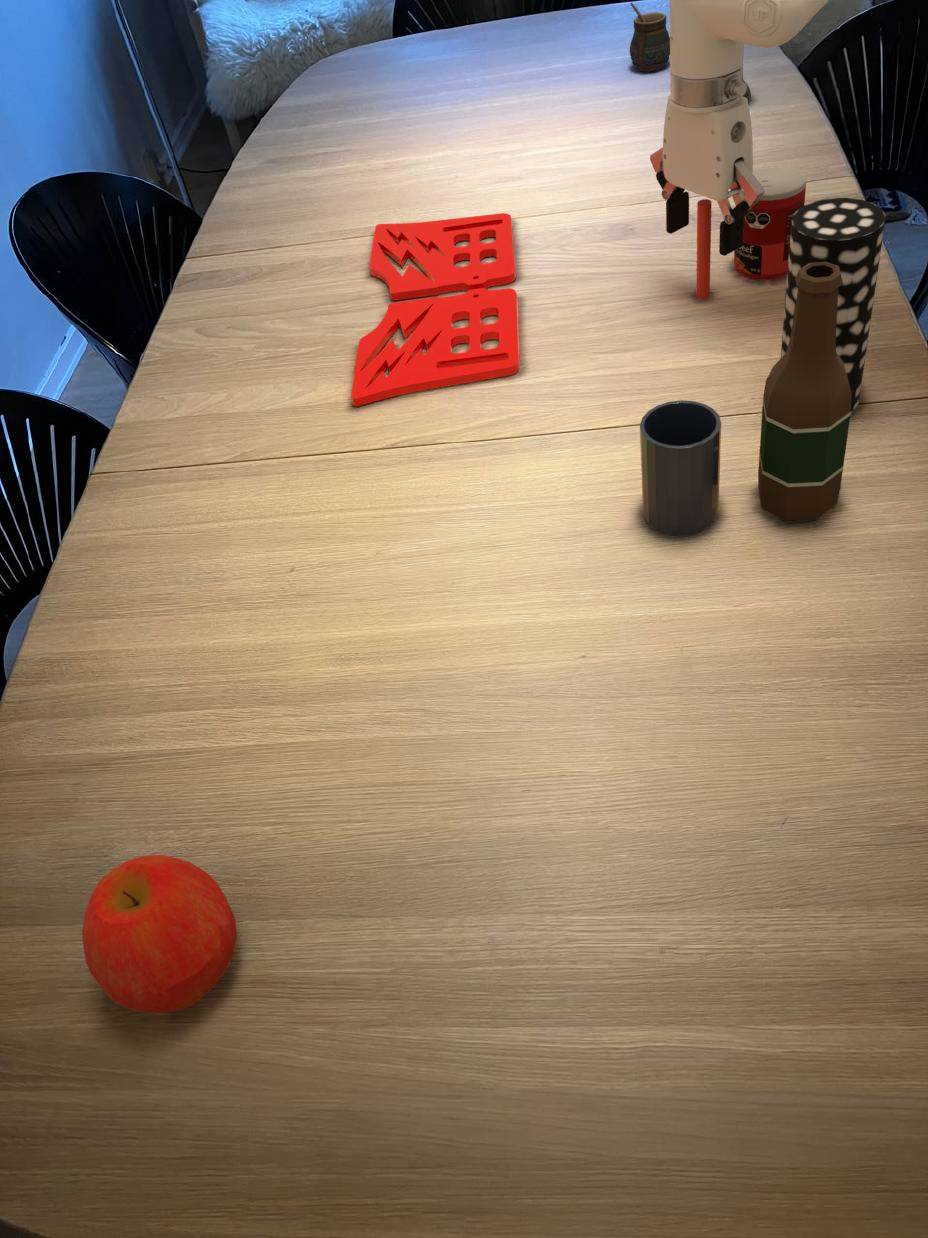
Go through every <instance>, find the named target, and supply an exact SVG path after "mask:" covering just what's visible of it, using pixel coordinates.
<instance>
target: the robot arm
mask: <svg viewBox="0 0 928 1238" xmlns="http://www.w3.org/2000/svg"><path fill="white" fill-rule="evenodd" d="M829 1H830V0H669V37H670V56H669V75H670V77H669V84H670V86H669V89H670V91H669V92H670V93H669V94H668V97H667V103H666V106H665V107H666V108H665V109H666V110H665V116H664V122H663V123H664V124H663V136H662V147H661V148H660V149H658V150H656V151H655V152H654V153H651V154H650V155H649V160H650V163H651V165H652V168H653V170H654V172H655V173H656V174H655V178H656V181H657V183H658V185H659V186H660V188H661V197H662V199H663V200H665V216H666V217H665V229H666V233H668V234H670V235H671V234H674V233H676V232H678V231H680V230H682V229H684V228H685V227H687V226H688V225H689V224H690V192H691V193H694V194H696V195H700V196H702V197H705V198H706V199H709V200H713V201H716V202H717V205H718V208H719V210H720V212H721V215H722V217H723V220H722V221H721V222H720V223H719V241H718V242H719V244H718V245H719V247H718V253H719V255H721V256H724V257H726V256H728V255H729V254H731V253H734V251H735V250H736V249H738V248H740V247H741V246H742V244H743V225H744V216H746V215H748V214H749V212H750V211H751V210H752V209H754V208H755V207H756V205H757V203H758V201H759V200H760V199H761V197H762V196H763V194H764V192H765V191H764V188H763V186H762V185H761V184H760V183H759V181H758V180H757V179H756V178H755V176H754V175H753V170H754V150H753V149H754V148H753V146H754V143H753V127H752V118H751V111H750V106H749V103H748V100H747V98H745V97H743V95H745V93H746V91H747V85H748V83H747V82H746V83H747V84H746V83H744V82H742V80H744V54H745V53H744V51H745V45H748V46H751V47H755V48H756V47H757V48H765V49H768V48H776V47H781V46H782V45H784V44H786V43H788V42H790V41H791V40H792V39H794V38H795V37H796V36H797V35H798V34H799V33H800V32H801V31H803V29H804V28H805V26H806V25H808V23H809V22H810V21H811V20H812V19H813V18H814V17H815V15H816V14H818V12H819V11H821V10H822V9H823V8H824V7H825V6H826V5H827V3H829ZM741 188H742V189H743V190H744V192H745V197H744V195H743V192H742V190H741ZM685 190H687V191H685ZM731 197H732V200H733V202H734V206H735V207H733V208H732V205H731V203H730V200H729V199H730V198H731Z"/></svg>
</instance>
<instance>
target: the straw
mask: <svg viewBox="0 0 928 1238" xmlns="http://www.w3.org/2000/svg"><path fill="white" fill-rule="evenodd" d="M712 202H713V201H712V199H709V198H703V199H700V200H698V201H697V203H696V207H697V208H696V289H695V290H696V296H695V297H696V298H697V299H698V300H706V299H708V298H710V295H711V252H712V251H711V249H712V247H711V245H712V244H711V243H712Z"/></svg>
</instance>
